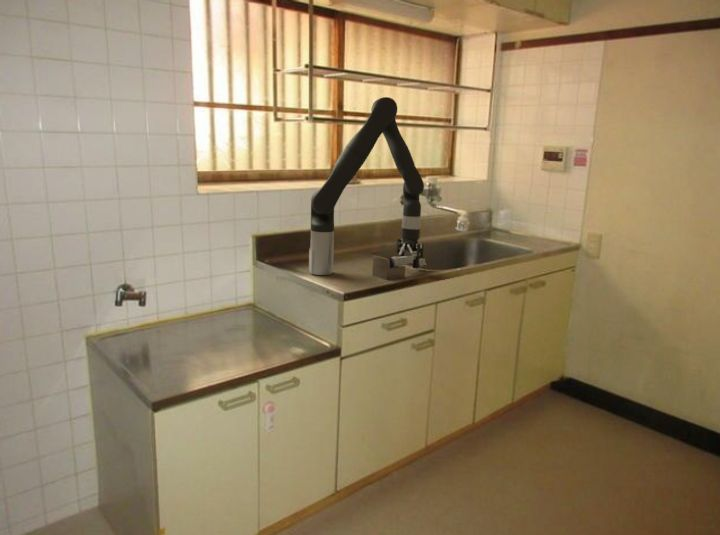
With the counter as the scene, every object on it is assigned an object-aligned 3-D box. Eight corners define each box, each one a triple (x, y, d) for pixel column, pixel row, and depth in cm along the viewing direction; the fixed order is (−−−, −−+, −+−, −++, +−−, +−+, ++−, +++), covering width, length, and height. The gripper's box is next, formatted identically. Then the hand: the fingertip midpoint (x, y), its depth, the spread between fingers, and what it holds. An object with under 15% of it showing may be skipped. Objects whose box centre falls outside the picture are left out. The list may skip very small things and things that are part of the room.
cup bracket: (386, 280, 208) (387, 259, 207) (372, 274, 216) (373, 255, 214) (404, 277, 214) (405, 258, 212) (390, 272, 221) (391, 253, 219)
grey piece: (383, 260, 212) (413, 254, 232) (389, 275, 211) (419, 268, 231) (393, 255, 209) (423, 249, 229) (399, 270, 208) (429, 263, 228)
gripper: (392, 225, 220) (390, 263, 223) (415, 229, 209) (412, 270, 212) (406, 224, 224) (404, 262, 228) (429, 229, 213) (427, 268, 216)
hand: (408, 266), depth 220 cm, fingers open, 8 cm apart
